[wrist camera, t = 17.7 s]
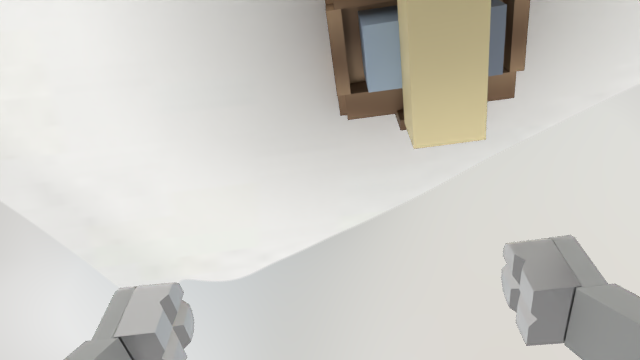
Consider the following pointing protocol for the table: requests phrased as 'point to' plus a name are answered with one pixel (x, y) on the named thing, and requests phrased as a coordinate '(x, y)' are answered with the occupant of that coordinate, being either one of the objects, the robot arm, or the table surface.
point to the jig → (361, 104)
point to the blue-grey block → (385, 45)
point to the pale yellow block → (444, 69)
